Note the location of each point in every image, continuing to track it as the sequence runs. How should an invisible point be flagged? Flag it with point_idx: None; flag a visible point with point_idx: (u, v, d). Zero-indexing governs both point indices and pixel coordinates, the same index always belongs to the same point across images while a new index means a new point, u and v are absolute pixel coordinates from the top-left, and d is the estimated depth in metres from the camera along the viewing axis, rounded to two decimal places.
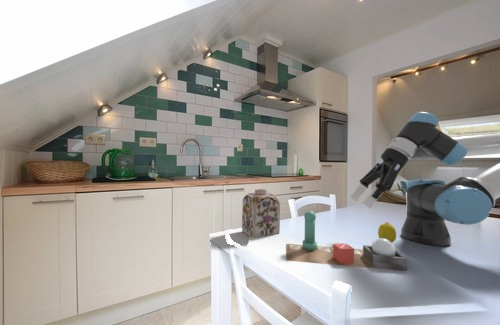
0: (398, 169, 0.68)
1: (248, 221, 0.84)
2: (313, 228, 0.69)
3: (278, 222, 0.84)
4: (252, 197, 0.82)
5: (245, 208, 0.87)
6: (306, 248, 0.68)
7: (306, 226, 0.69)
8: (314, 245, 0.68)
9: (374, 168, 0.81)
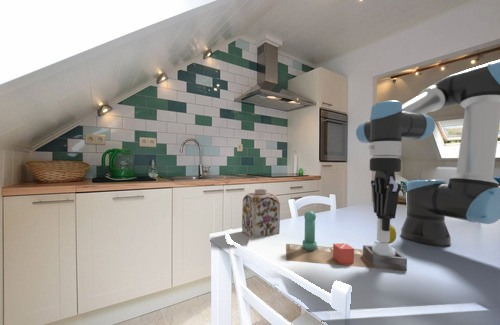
0: (397, 190, 0.55)
1: (248, 221, 0.84)
2: (313, 228, 0.69)
3: (278, 222, 0.84)
4: (252, 197, 0.82)
5: (245, 208, 0.87)
6: (306, 248, 0.68)
7: (306, 226, 0.69)
8: (314, 245, 0.68)
9: (374, 187, 0.65)
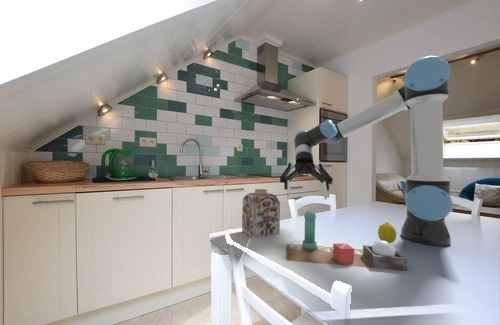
0: (288, 165, 0.91)
1: (248, 221, 0.84)
2: (313, 228, 0.69)
3: (278, 222, 0.84)
4: (252, 197, 0.82)
5: (245, 208, 0.87)
6: (306, 248, 0.68)
7: (306, 226, 0.69)
8: (314, 245, 0.68)
9: (319, 171, 0.90)
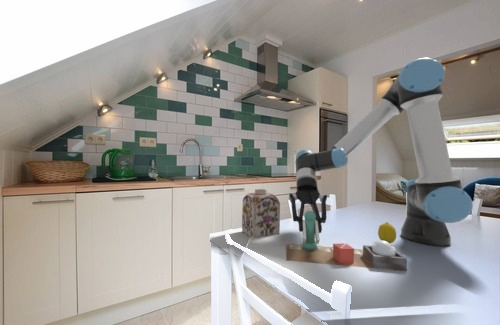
0: (290, 198, 0.77)
1: (248, 221, 0.84)
2: (313, 228, 0.69)
3: (278, 222, 0.84)
4: (252, 197, 0.82)
5: (245, 208, 0.87)
6: (306, 248, 0.68)
7: (306, 226, 0.69)
8: (314, 245, 0.68)
9: (321, 203, 0.77)
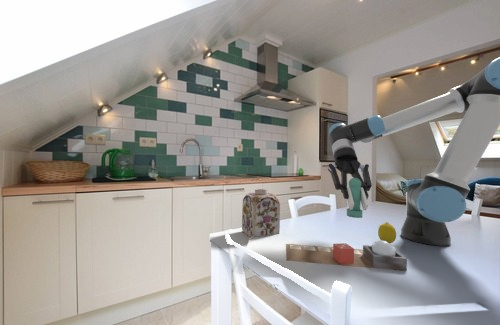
0: (330, 168, 0.75)
1: (248, 221, 0.84)
2: (359, 195, 0.67)
3: (278, 222, 0.84)
4: (252, 197, 0.82)
5: (245, 208, 0.87)
6: (352, 215, 0.66)
7: None
8: (360, 212, 0.66)
9: (362, 173, 0.75)
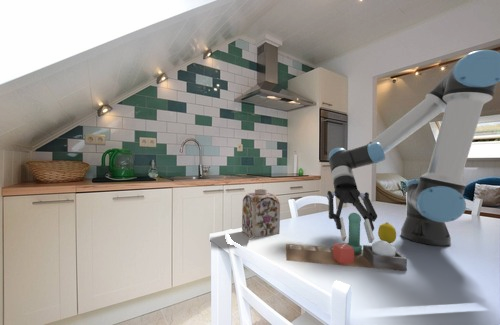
0: (328, 195, 0.76)
1: (248, 221, 0.84)
2: (359, 230, 0.67)
3: (278, 222, 0.84)
4: (252, 197, 0.82)
5: (245, 208, 0.87)
6: None
7: (351, 228, 0.67)
8: (360, 248, 0.66)
9: (363, 201, 0.75)
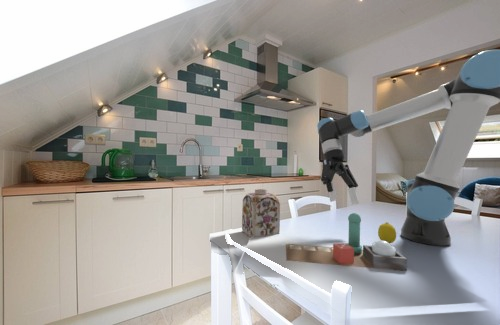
0: (326, 162, 0.84)
1: (248, 221, 0.84)
2: (358, 231, 0.67)
3: (278, 222, 0.84)
4: (252, 197, 0.82)
5: (245, 208, 0.87)
6: None
7: (351, 229, 0.67)
8: (360, 248, 0.66)
9: (343, 171, 0.91)
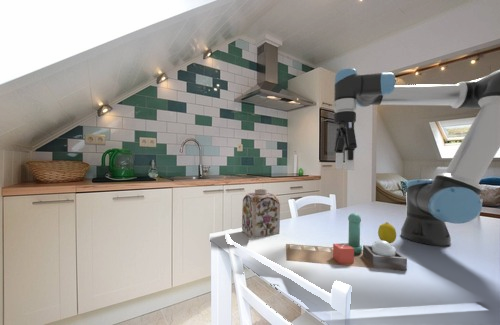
0: (352, 126, 0.74)
1: (248, 221, 0.84)
2: (358, 231, 0.67)
3: (278, 222, 0.84)
4: (252, 197, 0.82)
5: (245, 208, 0.87)
6: None
7: (351, 229, 0.67)
8: (360, 248, 0.66)
9: (337, 134, 0.87)
